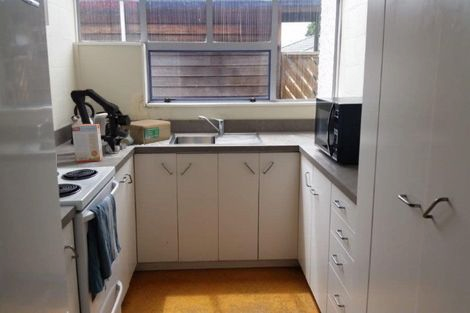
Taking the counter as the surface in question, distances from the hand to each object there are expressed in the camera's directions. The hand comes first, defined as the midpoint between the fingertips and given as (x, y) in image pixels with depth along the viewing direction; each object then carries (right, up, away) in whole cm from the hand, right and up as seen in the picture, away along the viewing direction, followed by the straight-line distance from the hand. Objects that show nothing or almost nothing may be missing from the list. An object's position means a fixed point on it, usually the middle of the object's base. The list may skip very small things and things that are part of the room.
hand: (116, 150), depth 258 cm
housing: (-8, -1, +2) cm, 9 cm away
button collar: (-2, +1, +13) cm, 14 cm away
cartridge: (-4, -1, +1) cm, 5 cm away
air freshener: (-1, +4, +28) cm, 29 cm away
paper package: (+10, +8, +45) cm, 47 cm away
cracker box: (-10, -6, -20) cm, 23 cm away
